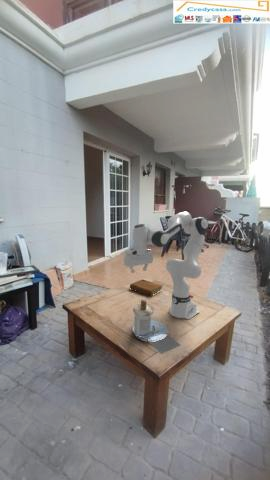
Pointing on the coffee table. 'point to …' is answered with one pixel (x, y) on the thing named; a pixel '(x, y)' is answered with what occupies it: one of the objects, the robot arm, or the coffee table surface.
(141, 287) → the diary
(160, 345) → the mat
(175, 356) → the coffee table surface
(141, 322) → the supplement tub
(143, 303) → the lid
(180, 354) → the coffee table surface
